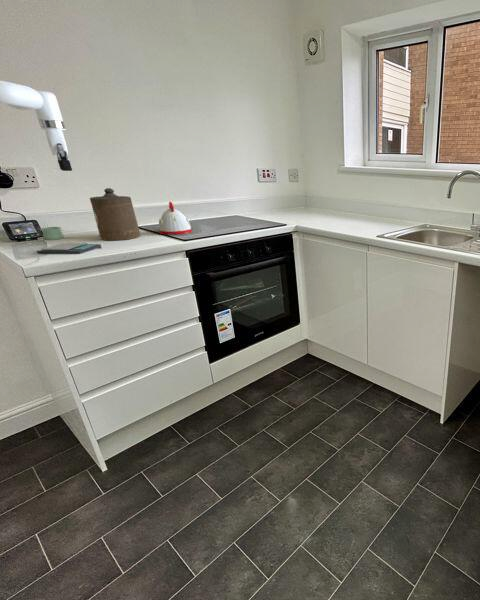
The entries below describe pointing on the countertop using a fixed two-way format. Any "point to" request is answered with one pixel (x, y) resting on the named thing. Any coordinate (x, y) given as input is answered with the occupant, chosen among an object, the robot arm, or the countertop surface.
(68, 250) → the scale
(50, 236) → the bowl
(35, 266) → the countertop surface
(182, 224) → the white dome
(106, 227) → the wooden container
